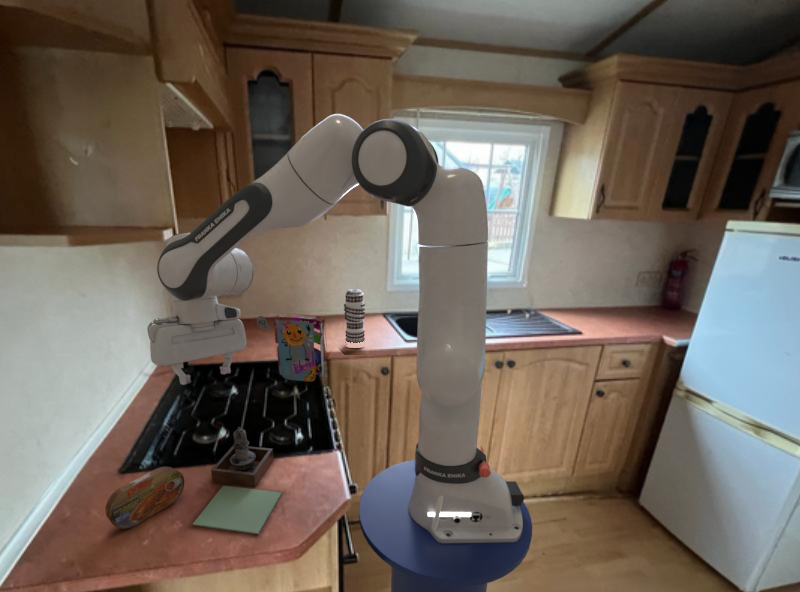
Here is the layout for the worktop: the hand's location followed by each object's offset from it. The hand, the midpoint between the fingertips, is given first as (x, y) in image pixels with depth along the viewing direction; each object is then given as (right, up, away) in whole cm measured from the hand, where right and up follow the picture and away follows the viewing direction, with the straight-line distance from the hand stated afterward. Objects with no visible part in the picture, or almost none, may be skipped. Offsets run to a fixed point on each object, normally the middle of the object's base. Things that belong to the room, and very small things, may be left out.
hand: (206, 378), depth 88 cm
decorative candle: (+29, +8, +95) cm, 100 cm away
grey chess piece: (+5, -23, +11) cm, 26 cm away
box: (+8, -5, +60) cm, 60 cm away
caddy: (+5, -23, +11) cm, 26 cm away
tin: (-11, -28, -2) cm, 30 cm away
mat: (+8, -27, -1) cm, 28 cm away
